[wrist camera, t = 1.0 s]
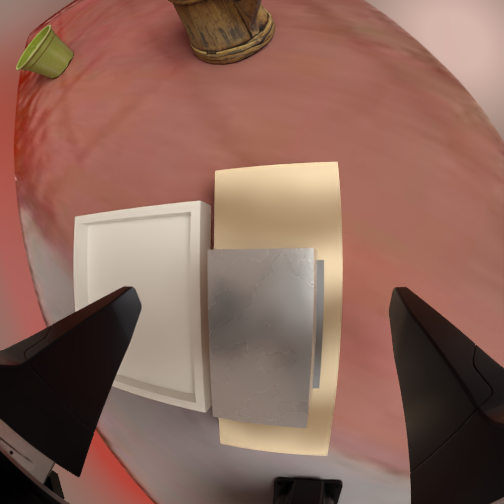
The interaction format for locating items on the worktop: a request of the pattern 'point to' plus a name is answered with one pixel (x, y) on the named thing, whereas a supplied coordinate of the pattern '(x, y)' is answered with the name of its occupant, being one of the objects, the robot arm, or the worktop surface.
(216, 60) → the wooden mug
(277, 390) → the light grey block
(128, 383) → the parts tray
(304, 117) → the worktop surface
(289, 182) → the light wood plank
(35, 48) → the plant pot
